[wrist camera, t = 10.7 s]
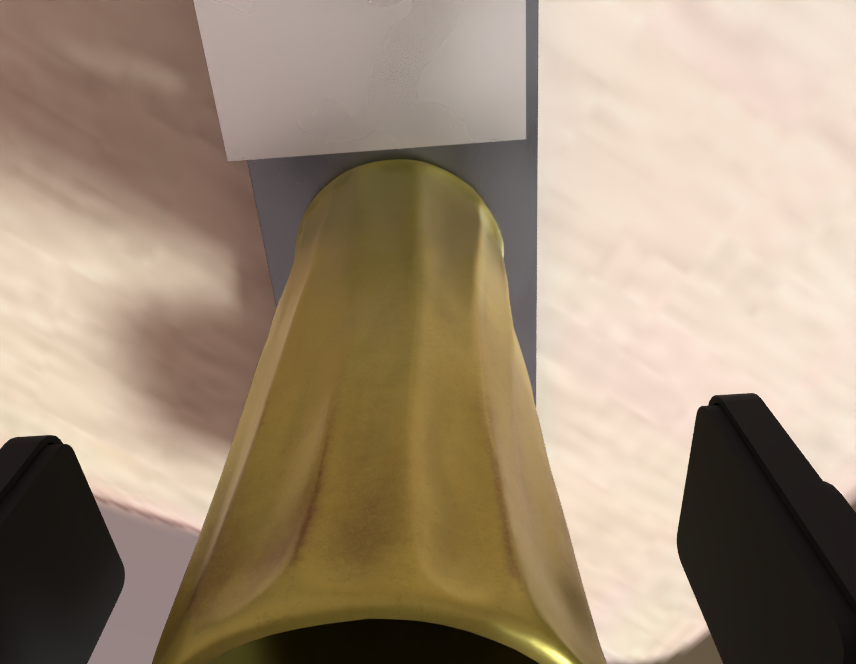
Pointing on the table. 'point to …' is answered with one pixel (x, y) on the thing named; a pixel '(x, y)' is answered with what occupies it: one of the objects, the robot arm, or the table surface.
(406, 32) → the rail board
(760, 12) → the table surface
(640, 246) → the table surface
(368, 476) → the vase
